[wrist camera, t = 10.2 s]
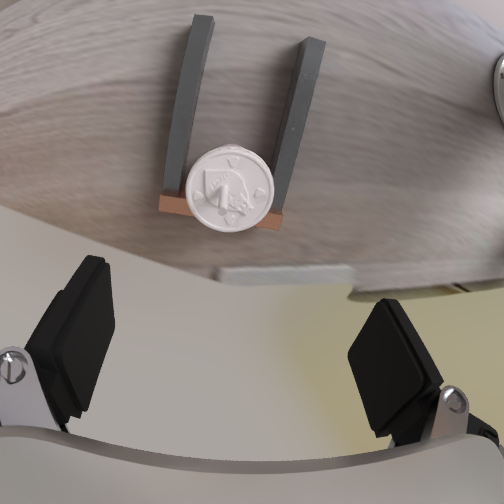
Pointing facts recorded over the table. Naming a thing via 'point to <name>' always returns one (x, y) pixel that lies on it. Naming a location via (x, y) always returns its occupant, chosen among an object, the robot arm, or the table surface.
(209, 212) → the smoothie
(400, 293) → the table surface
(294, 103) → the grey frame
